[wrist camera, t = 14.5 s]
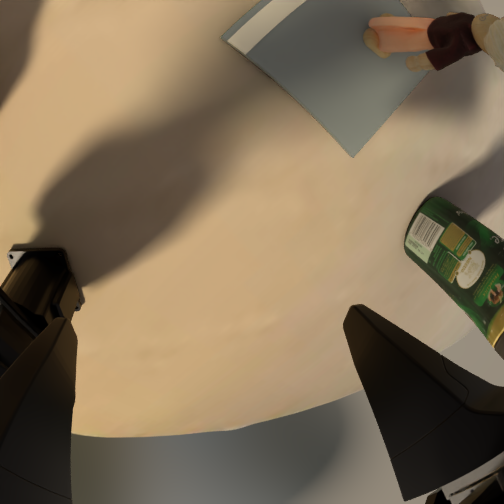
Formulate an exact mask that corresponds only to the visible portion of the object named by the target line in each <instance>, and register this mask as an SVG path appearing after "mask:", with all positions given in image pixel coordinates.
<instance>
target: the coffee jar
mask: <svg viewBox="0 0 504 504" xmlns="http://www.w3.org/2000/svg"><path fill="white" fill-rule="evenodd" d="M404 249H405V252H406V254H407V255H408V256H409V257H410V258H411V259H412V260H413V261H414V262H415V263H416V264H417V265H418V266H419V267H420V268H421V269H422V270H424V271H425V272H426V273H427V274H428V275H429V276H430V277H431V278H432V279H433V280H434V281H435V282H436V283H437V284H438V285H439V286H440V287H441V288H442V289H443V290H444V291H445V292H446V293H447V294H448V295H449V296H450V297H451V298H452V299H453V300H454V301H455V303H456V304H457V305H458V306H459V307H460V308H461V309H462V310H463V311H464V312H465V313H466V314H467V315H468V317H469V318H470V319H471V320H472V321H473V322H474V323H475V325H476V326H477V327H478V328H479V329H480V331H481V332H482V333H483V334H484V336H485V337H486V339H487V340H488V341H489V343H490V344H491V345H492V347H494V348H495V351H496V352H497V353H498V354H499V355H500V356H501V357H502V358H503V359H504V239H502V238H501V237H500V236H498V235H497V234H496V233H494V232H493V231H492V230H490V229H489V228H487V227H486V226H484V225H483V224H482V223H480V222H479V221H477V220H476V219H474V218H473V217H471V216H470V215H468V214H467V213H465V212H464V211H462V210H461V209H460V208H458V207H456V206H455V205H453V204H452V203H450V202H448V201H447V200H445V199H443V198H441V197H433V198H431V199H429V200H428V201H427V202H426V203H425V204H424V205H423V206H422V207H421V208H420V209H419V210H418V211H417V213H416V214H415V216H414V218H413V219H412V221H411V223H410V225H409V227H408V231H407V234H406V237H405V241H404Z"/></svg>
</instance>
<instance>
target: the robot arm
mask: <svg viewBox="0 0 504 504" xmlns="http://www.w3.org/2000/svg"><path fill="white" fill-rule="evenodd" d="M59 253H60V254H61V255H62V256H60V255H59ZM11 254H12V255H13V256H12V255H11ZM7 257H8V260H9V263H10V266H11V268H12V270H11V271H10V272H9V274H8V276H7V277H6V279H5V280H4V282H3V283H2V285H1V286H0V504H72V493H71V475H70V474H71V468H70V454H71V427H72V414H73V407H74V403H75V382H76V359H77V345H78V340H77V336H76V333H75V331H74V329H73V326H72V324H71V320H72V317H73V314H74V311H79V310H80V309H81V302H80V299H79V297H80V295H79V292H78V288H77V285H76V282H75V278H74V275H73V273H72V272H71V270H70V266H69V262H68V258H67V254H66V252H65V250H64V249H62V248H36V249H11V250H10V251H9V252H8V253H7ZM343 329H344V332H345V336H346V339H347V342H348V345H349V349H350V352H351V355H352V359H353V362H354V365H355V368H356V370H357V373H358V375H359V378H360V380H361V382H362V385H363V387H364V390H365V392H366V395H367V397H368V400H369V403H370V405H371V408H372V410H373V413H374V416H375V418H376V421H377V424H378V426H379V429H380V432H381V434H382V437H383V440H384V443H385V445H386V448H387V451H388V454H389V457H390V459H391V463H392V466H393V469H394V472H395V475H396V478H397V481H398V484H399V487H400V490H401V493H402V497H403V499H404V501H408V500H411V499H413V498H416V497H419V496H421V495H424V494H426V493H429V492H431V491H433V490H436V489H437V490H436V491H434V492H433V493H431V494H430V495H429V496H428V497H427V500H426V503H425V504H504V387H500V386H495V385H492V384H490V383H488V382H487V381H485V380H483V379H481V378H479V377H478V376H476V375H474V374H472V373H470V372H468V371H467V370H465V369H463V368H462V367H460V366H458V365H457V364H455V363H453V362H452V361H450V360H449V359H447V358H446V357H444V356H443V355H440V354H439V353H438V352H436V351H435V350H433V349H432V348H430V347H429V346H427V345H426V344H424V343H423V342H421V341H419V340H418V339H416V338H415V337H413V336H412V335H410V334H409V333H407V332H406V331H404V330H402V329H401V328H399V327H398V326H396V325H395V324H393V323H392V322H390V321H388V320H387V319H385V318H384V317H382V316H381V315H379V314H377V313H376V312H374V311H373V310H371V309H370V308H368V307H366V306H365V305H363V304H357V305H352V306H351V307H350V308H349V311H348V313H347V315H346V317H345V320H344V322H343Z"/></svg>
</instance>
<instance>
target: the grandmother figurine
mask: <svg viewBox="0 0 504 504" xmlns="http://www.w3.org/2000/svg"><path fill="white" fill-rule="evenodd" d="M368 25H369V27H370V28H368V29H367V30H366V31H365V32H364V34H363V41H364V43H365V44H366V46H367V47H368V48H370V49H371V50H372V51H373V52H374V53H376V54H377V55H378V56H379V57H381V58H387V57H389V56H390V55H391V53H393V52H417V51H422V50H429V51H426V52H425V53H422V54H419V55H418V56H409V57H407V59H406V66H407V68H408V69H409V70H411V71H412V72H419V71H421V70H422V69H424V70H431V69H436V70H437V71H439V70H441V69H443V68H445V67H446V66H448V65H450V64H452V63H454V62H456V61H458V60H460V59H461V58H463V57H464V56H469V55H473V54H475V53H478V52H479V51H481V50H483V51H484V52H486V53H487V54H488V55H490V56H491V58H492V59H493V60H494V62H495V66H497V67H499V68H500V69H501V70H502V71H503V72H504V17H502V18H501V19H499V18H498V17H496V16H494V15H491V14H479V15H477V16H476V17H475V16H473V15H470V14H467V13H462V12H460V13H453V12H449V13H448V14H447V16H443V17H439V18H436V19H432V18H420V17H395V16H394V15H392V14H389V13H384V14H382V15H380V17H376V18H372V19H371V20H370V21H369V24H368Z"/></svg>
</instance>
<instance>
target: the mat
mask: <svg viewBox="0 0 504 504" xmlns="http://www.w3.org/2000/svg"><path fill="white" fill-rule="evenodd" d="M384 13H389V14H392V15H394V16H395V17H412V16H411V15H410V14H409V12H408V11H407V10H406V8H405V7H404V6H403V5H402V3H401V2H400V1H399V0H261V1H260V2H259V3H258V4H256V5H255V6H254V7H253V8H252V9H251V10H249V11H248V12H247V13H246V14H245V15H244V16H243V17H241V18H240V19H239V20H238V21H237V22H236V23H235V24H234V25H233V26H232V27H231V28H230V29H228V30H227V31H226V32H225V33H224V34H223V35H222V36H221V38H220V39H222V40H223V41H225V42H226V43H227V44H229V45H230V46H232V47H233V48H234V49H236V50H237V51H238V52H240V53H241V54H242V55H243V56H245V57H246V58H247V59H249V60H250V61H251V62H252V63H254V64H255V65H256V66H257V67H259V68H260V69H261V70H262V71H263V72H265V73H266V74H267V75H268V76H269V77H270V78H272V79H273V80H274V81H275V82H276V83H277V84H279V85H280V86H281V87H282V88H283V89H284V90H285V91H286V92H288V93H289V94H290V95H291V96H292V97H293V98H294V99H295V100H296V101H297V102H298V103H299V104H300V105H301V106H302V107H304V108H305V109H306V110H307V111H308V112H309V113H310V114H311V115H312V116H313V117H314V118H315V119H316V120H317V121H318V122H319V123H320V124H321V125H322V126H323V127H324V128H325V130H326V131H327V132H328V133H329V134H330V135H331V136H332V137H333V138H334V139H335V140H336V141H337V142H338V143H339V145H340V146H341V147H342V148H343V149H344V150H345V151H346V152H347V153H348V155H349V156H350V157H352V158H354V156H355V155H356V154H357V153H358V152H359V151H360V150H361V149H362V147H363V146H364V145H365V144H366V143H367V142H368V141H369V140H370V138H371V137H372V136H373V135H374V134H375V133H376V132H377V130H378V129H379V128H380V127H381V126H382V125H383V124H384V122H385V121H386V120H387V119H388V118H389V117H390V116H391V114H392V113H393V112H394V111H395V110H396V109H397V108H398V106H399V105H400V104H401V103H402V102H403V101H404V100H405V98H406V97H407V96H408V95H409V94H410V93H411V91H412V90H413V89H414V88H415V87H416V86H417V84H418V83H419V82H420V81H421V80H422V79H423V77H424V76H425V75H426V74H427V73H428V72H429V70H424V69H422V70H421V71H419V72H412V71H411V70H409V69H408V68H407V66H406V59H407V57H409V56H418V55H419V54H422V53H425V52H426V51H429V50H422V51H417V52H393V53H391V55H390V56H389V57H387V58H381V57H379V56H378V55H377V54H376V53H374V52H373V51H372V50H371V49H370V48H368V47H367V46H366V44H365V43H364V41H363V34H364V32H365V31H366V30H367V29H368V28H370V27H369V25H368V24H369V21H370V20H371V19H372V18H376V17H380V15H382V14H384Z"/></svg>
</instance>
